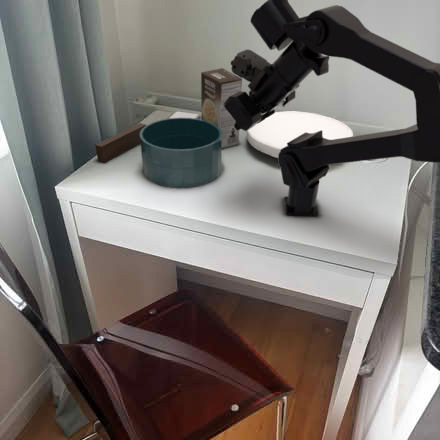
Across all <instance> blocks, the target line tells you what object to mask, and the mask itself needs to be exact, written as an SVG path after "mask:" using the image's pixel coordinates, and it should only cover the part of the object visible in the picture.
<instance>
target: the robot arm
mask: <svg viewBox="0 0 440 440" xmlns="http://www.w3.org/2000/svg"><path fill="white" fill-rule="evenodd" d="M250 24H251V25H252V26H253V28H254V29H255V31H256V32H257V33H258V35H259V37H260V38H261V40H262V41H263V42H264V43H265V45H266V47H267V48H268V49H269V50H270V51H273V50H275V49H276V50H277V51H279V52H280V51H282V52H281V53H280V55H279V56H278V57H277V58H276V60H274V61H273V62H272V63H270V62H269V61H268V60H267V59H265V58H264V57H263V56H261V55H259V54H258V53H256V52H254V51H253V50H251V49H245V50H242V51H240V52H239V51H238V52H237V53H236V55H235V56H234V58H233V60H231V61H230V66H231V73H232V74H234V75H236V76H238V77H240V78H242V79H243V80H245V81H247V82H249V83H248V85H247V88H248V89H249V91H248V93H247V91H242V90H241V91H239V92H237V93H235V94H233V95H231V96H229V98H228V99H227V100H226V101H225V102H224V107H225V108H226V110H227V111H228V112H229V113H230V115H231V116H232V117H233V118H234V120H235V121H236V122H235V125H234V127H235V129H236V130H239V131H240V130H243V131H244V132H246V131H247V130H249V129H250V128H252V127H253V126H255V125H256V124H258V123H260V122H262V121H263V120H265V118H267V117H269V116H271V115H273V114H274V113H275V112H276V109H277V108H278V107H280V106H282V108H285V107H286V106H288V105H290V104H291V103H292V102H293V101H294V99H296V90H298V88H299V87H300V84H301V83H302V82H303V81H304V80H305V79H306V78H307V77H308V76H309V75H310V74H311V73H312V72H314V74H315V76H317V77H320V76H322V75H325V74H328V73H329V72H330V70H329V69H330V68H329V67H330V65H329V60H330V57H331V58H340V59H346V60H350V61H353V62H355V63H356V64H359V65H360V66H362V67H365V68H366V69H368V70H370V71H372V72H374V73H376V74H377V75H380V76H382V77H383V78H386V79H388V80H390V81H392V82H393V83H395V84H398V85H399V86H401V87H403V88H405V89H407V90H409V91H411V92H413V96H414V99H415V118H416V119H415V120H416V121H415V122H416V123H415V124H413V125H410V126H408V127H405V128H399V129H393V130H392V129H391V130H387V131H380V132H374V133H373V132H372V133H367V134H361V135H353V137H346V138H340V139H333V140H328V139H325V138H323V135H322V130H321V131H318V132H315V133H306V132H305V133H304V134H302V135H300V136H299V137H297V138H295V139H293V140H292V141H290V142H288V143H287V146H286V147H284V148H282V149H281V150H280V153H279V156H278V158H277V161H278V165H279V168H280V172H281V177H282V182H283V185H285V186H287V187H288V193H287V196H284V198H283V201H284V203H283V204H284V212H285V214H286V215H287V216H310V217H311V216H312V217H317V216H319V208H318V204H317V198H318V192H319V187H320V180H321V179H323V178H324V177H326V176H327V175H328V173H329V171H330V169H331V167H330V165H337V164H339V165H340V164H347V163H348V164H349V163H356V162H365V161H375V160H382V159H390V158H391V159H393V158H405V159H408V160H410V161H411V160H412V161H415V162H420V163H421V162H422V163H435V164H436V163H440V62H434V61H432V60H431V59H428V58H426V57H424V56H422V55H419V54H418V53H416V52H414V51H412V50H409V49H407V48H405V47H403V46H401V45H399V44H397V43H395V42H392V41H390V40H388V39H387V38H385V37H382V36H381V35H378V34H376V33H374V32H372V31H370V30H369V29H368V28H367V27H366V26H365V25H364V24H363V23H362V22H361V20H360V18H359V17H358V16H356V15H355V14H353V13H352V12H351V11H349V10H348V9H347V8H345V6H342V5H337V4H335V5H331V6H328V7H323V8H319V9H317V10H313V11H312V12H311V13H309V14H308V15H306V16H302V17H299V15H298V14H297V12H296V11H295V10H294V8H293V7H292V5H291V3H289V0H266V1H265V2H263V4H262V5H261V6H259V7H258V8H257V9H255V11H254V12H253V14H252V15H251V17H250Z"/></svg>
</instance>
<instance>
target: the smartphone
mask: <svg viewBox="0 0 440 440" xmlns="http://www.w3.org/2000/svg"><path fill="white" fill-rule="evenodd" d="M168 118H195V119H200V114H199V113H194V112H188V111H180V110H177V111H175V112H173V114H171V115H170V116H169V117H167V118H166V119H168Z"/></svg>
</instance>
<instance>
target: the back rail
mask: <svg viewBox="0 0 440 440" xmlns="http://www.w3.org/2000/svg"><path fill="white" fill-rule="evenodd" d="M146 125H147V124H146V123H142V122H139V123H137V124H135V125H133V126H131V127H128V128H126V129H125V130H122V131H121V132H118V133H116V134H114V135H112V136H110V137H108V138H106V139H104V140H101V141H100V142H98V143H96V144H95V151H96V156H97V162H101V163H103V164H105V163H107V162H109V161H111V160H112V159H114V158H116V157H118V156H120V155H122V154H124V153H125V152H127V151H129V150H132V149H134V148H135V147H137V146H139V145H141V144H140V132H141V129H143V128H144V127H145V126H146Z"/></svg>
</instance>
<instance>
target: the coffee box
mask: <svg viewBox="0 0 440 440" xmlns="http://www.w3.org/2000/svg"><path fill="white" fill-rule="evenodd" d="M200 84H201V85H200V86H201V87H200V90H201V91H200V92H201V93H200V94H201V98H200V99H201V108H200V109H201V111H200V112H201V113H200V114H201V118H202V120H205V121H208V122H211V123H213V124H215V125H216V126H218V127H219V128H220V129H221V131H222V149H225V148H226V149H227V148H229V147H232V146H238V145H239V142H240V130H236V129H235V127H234V125H235V122H236V121H235V120H234V118H233V117H232V116H231V115H230V113H229V112H228V111H227V110H226V108H225V107H224V102H225V101H226V100H227V99H228V98H229V96H231V95H233V94H235V93H237V92H239V91H242V87H243V85H242V84H243V78H241V77H239V76H238V75H236V74H234V73H233V72H230V71H229V70H227V69H225V68H223V67H221V68H217V69H211V70H206V71H201V73H200Z"/></svg>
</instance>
